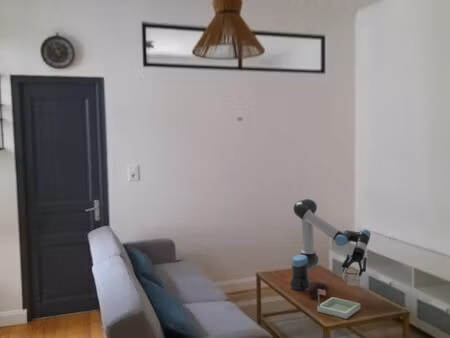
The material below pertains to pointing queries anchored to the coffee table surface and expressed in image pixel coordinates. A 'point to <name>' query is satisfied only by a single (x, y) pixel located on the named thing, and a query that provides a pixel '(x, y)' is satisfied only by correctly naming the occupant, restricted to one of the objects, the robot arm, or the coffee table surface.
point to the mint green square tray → (337, 306)
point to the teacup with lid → (351, 277)
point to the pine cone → (316, 289)
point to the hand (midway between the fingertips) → (350, 278)
